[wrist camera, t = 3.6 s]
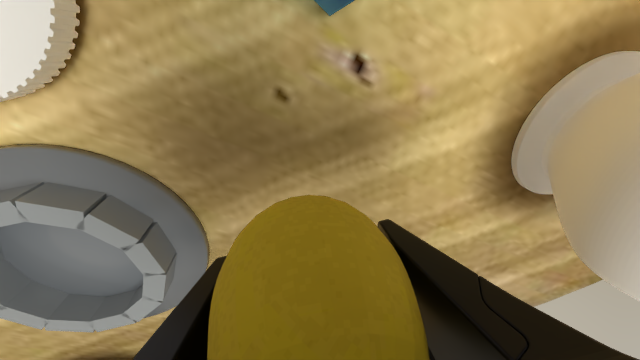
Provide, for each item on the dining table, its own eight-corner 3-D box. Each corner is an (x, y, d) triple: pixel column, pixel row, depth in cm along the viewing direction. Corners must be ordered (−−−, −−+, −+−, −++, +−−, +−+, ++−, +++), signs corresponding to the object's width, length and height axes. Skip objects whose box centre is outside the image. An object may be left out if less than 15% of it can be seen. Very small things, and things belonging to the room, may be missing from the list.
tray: (237, 289, 24) (232, 318, 22) (57, 331, 23) (30, 366, 21) (143, 118, 15) (114, 133, 12) (-158, 177, 14) (-256, 206, 12)
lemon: (384, 177, 10) (617, 467, 3) (334, 266, 12) (404, 546, 5) (254, 138, 8) (136, 572, 1) (224, 249, 11) (123, 621, 4)
